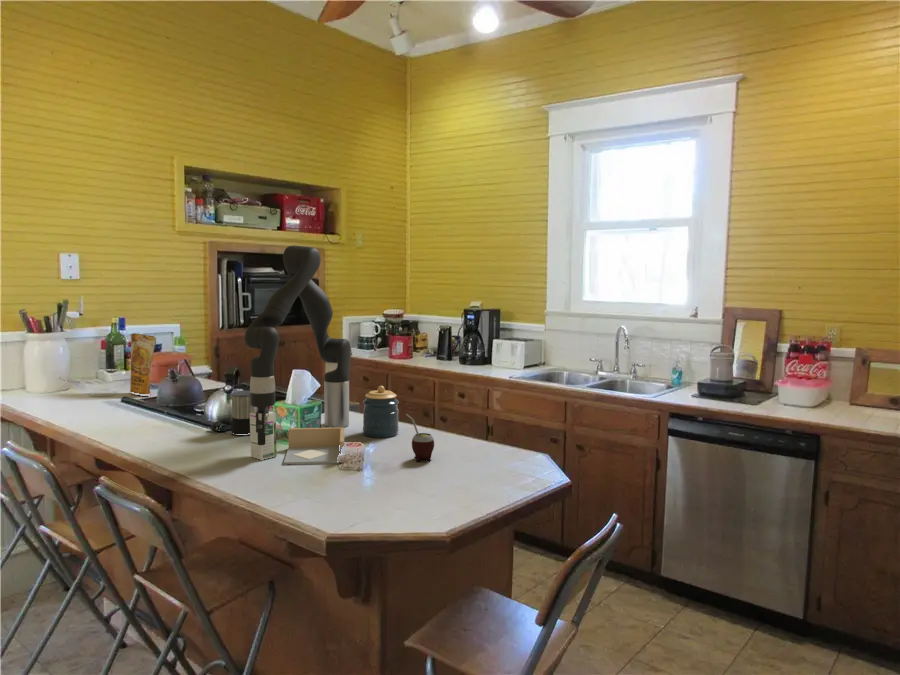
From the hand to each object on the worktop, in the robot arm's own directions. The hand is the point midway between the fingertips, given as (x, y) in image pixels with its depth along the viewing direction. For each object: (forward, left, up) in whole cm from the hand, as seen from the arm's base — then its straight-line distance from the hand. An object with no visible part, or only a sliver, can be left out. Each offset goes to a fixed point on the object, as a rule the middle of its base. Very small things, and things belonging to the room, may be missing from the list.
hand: (263, 441), depth 201 cm
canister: (-26, +38, -5) cm, 46 cm away
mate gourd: (+8, +49, -5) cm, 50 cm away
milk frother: (-33, -14, -5) cm, 36 cm away
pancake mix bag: (-108, -68, -5) cm, 128 cm away
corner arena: (0, +16, -5) cm, 17 cm away
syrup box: (0, 0, -5) cm, 5 cm away
